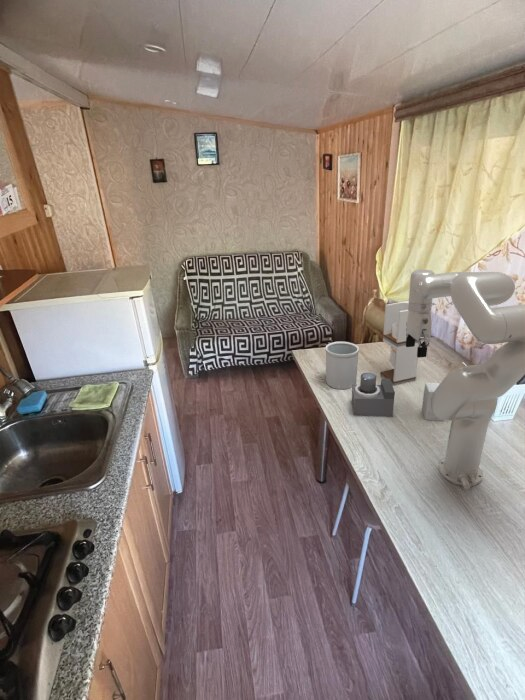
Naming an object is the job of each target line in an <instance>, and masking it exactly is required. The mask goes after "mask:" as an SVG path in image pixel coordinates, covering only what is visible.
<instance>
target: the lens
mask: <svg viewBox="0 0 525 700" xmlns="http://www.w3.org/2000/svg"><path fill="white" fill-rule="evenodd" d="M359 382H360V383H359V384H360V392H362V393H365V394H372V393H375V389H376V385H377V375H376V374H374V373H372V372H363V373H362V374H360V380H359Z"/></svg>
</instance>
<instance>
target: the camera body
mask: <svg viewBox="0 0 525 700" xmlns="http://www.w3.org/2000/svg"><path fill="white" fill-rule="evenodd" d="M395 393H396V391H395V388H394V386H393V385H392V383H391V380H390V379H389V378H383V377H382V378H381V379H380V384H376V389H375V393H372V394H365V393H362V392H360V383H359V384H355V385H352V387H351V405H352V406H351V407H352V412H353V416H354V417H394V416H393V415H394V408H395V407H394V406H395Z"/></svg>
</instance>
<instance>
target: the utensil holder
mask: <svg viewBox="0 0 525 700" xmlns="http://www.w3.org/2000/svg"><path fill="white" fill-rule="evenodd" d="M324 350H325V382H326V384H327V385H328V386H329V387H330V388H333V389H337V390H346V389H352V385H357V384H356V383H357V377H358V376H357V375H358V365H359V364H358V361H359V353H360V347H359V346H358V345H357V344H355V343H353V342H349V341H334V342H329V343H327V344H326V345H325V348H324Z"/></svg>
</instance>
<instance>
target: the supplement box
mask: <svg viewBox="0 0 525 700" xmlns="http://www.w3.org/2000/svg"><path fill="white" fill-rule="evenodd" d="M440 383H441V382H425V383H424V388H423V389H424V390H423V397H422V398H423V399H422V406H421V412H422V415H423V417H424V420H427V421H428V420H429V421H438V422H439V421H443V422H445V421H444V420H441V419H439V418H438V417H436V416H435V414H434V413H433V411H432V408H431V398H432V395H433V393H434V391H435V390H436V388H437V387H438V386H439V384H440Z"/></svg>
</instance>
